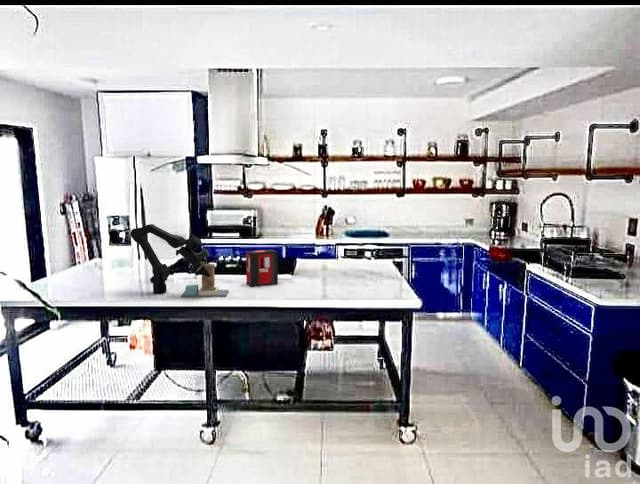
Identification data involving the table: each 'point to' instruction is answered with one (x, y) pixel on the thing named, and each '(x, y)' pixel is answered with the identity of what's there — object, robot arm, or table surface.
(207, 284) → the pillar
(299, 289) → the table surface
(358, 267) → the table surface
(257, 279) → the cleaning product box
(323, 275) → the table surface
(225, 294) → the board
